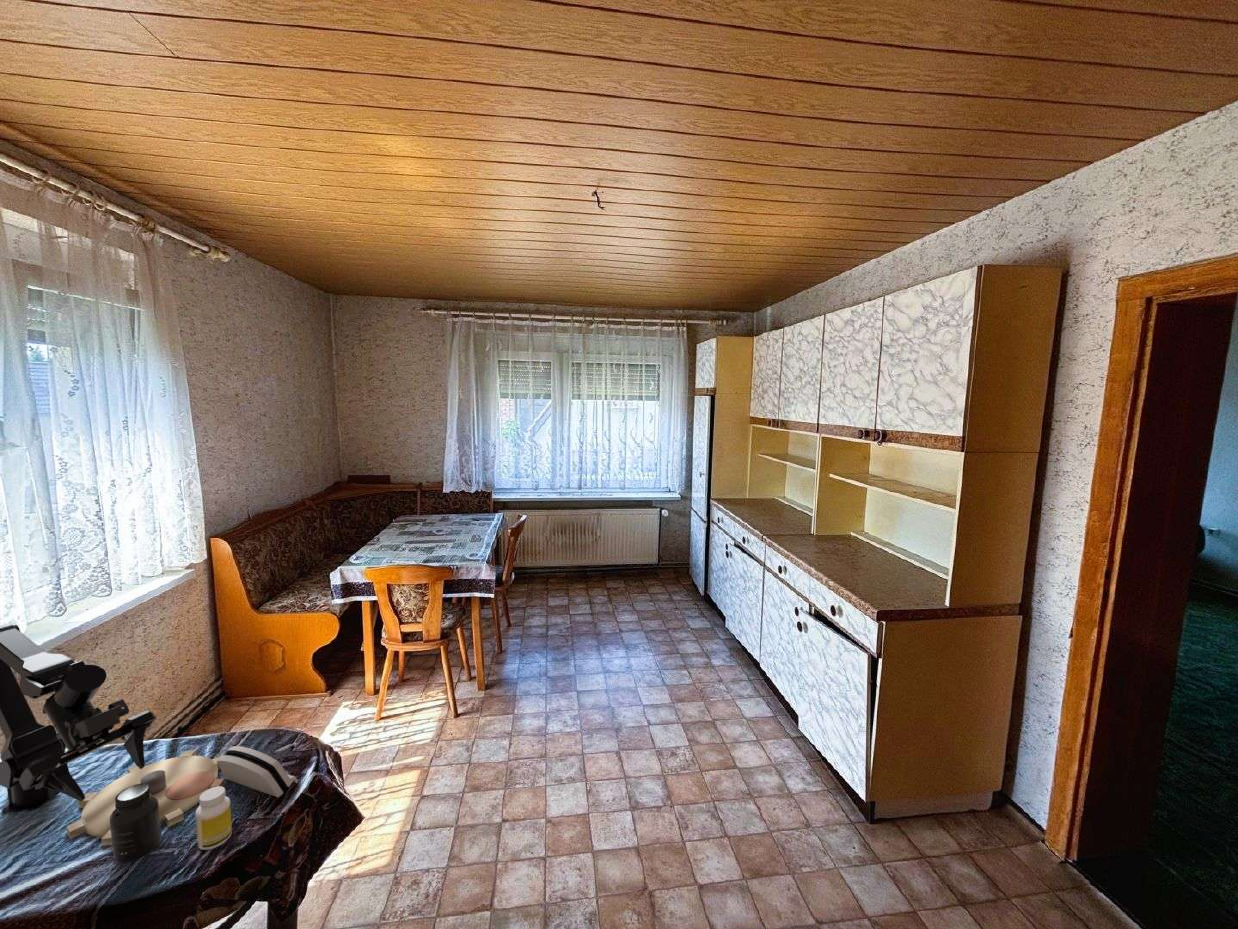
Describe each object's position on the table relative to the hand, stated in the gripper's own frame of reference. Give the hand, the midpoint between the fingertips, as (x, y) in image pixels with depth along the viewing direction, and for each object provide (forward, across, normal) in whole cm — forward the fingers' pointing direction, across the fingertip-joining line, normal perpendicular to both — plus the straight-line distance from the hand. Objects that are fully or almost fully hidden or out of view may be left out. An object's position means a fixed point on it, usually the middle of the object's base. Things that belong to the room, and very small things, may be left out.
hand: (114, 783), depth 100 cm
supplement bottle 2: (+21, +7, -3) cm, 22 cm away
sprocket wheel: (+3, +10, +14) cm, 17 cm away
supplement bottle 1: (+13, 0, +5) cm, 14 cm away
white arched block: (+16, +20, +2) cm, 26 cm away
